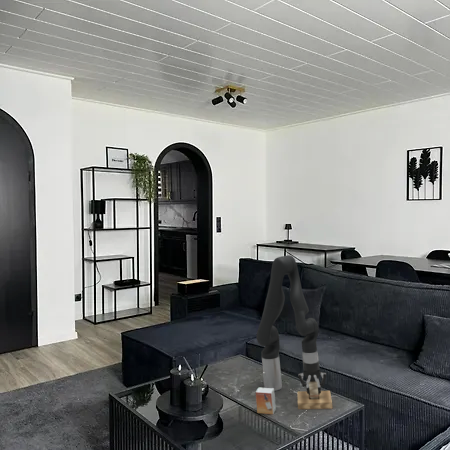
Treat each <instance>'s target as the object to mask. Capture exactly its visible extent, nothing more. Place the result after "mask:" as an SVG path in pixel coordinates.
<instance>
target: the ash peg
mask: <svg viewBox="0 0 450 450" xmlns="http://www.w3.org/2000/svg"><path fill="white" fill-rule="evenodd" d="M309 390H310V398H311V399H318V397H319V395H318V385H317V382H316V381H310V382H309Z"/></svg>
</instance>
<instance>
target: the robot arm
mask: <svg viewBox="0 0 450 450" xmlns="http://www.w3.org/2000/svg"><path fill="white" fill-rule="evenodd" d="M286 275H287V276H288V279H289V284H290V292H289V296H290V297H289V299H290V303H291V306H292V309H293V312H294V320H295V328H296V331H297V332H298V334H299V335H300V336H301V337H303V336H304V338H302V340H301V349H302V365H303V366H302V367H303V371H302V372H301V373H298V379H299V382H300V384H301V386H302V387H305V388H306V391H307V394H309V395H310V390H309V382H310V381H316V382H317V385H318V395H320V393H321V391H322V389H321V388H322V387H324V386H325V383H326V380H327V373H326V372H325V371H324V372H321V369H320V361H319V354H318V347H317V346H318V345H317V341H318V340H317V339H318V334H319V324H318V322H317V321H316V319H315V318H313V317H309V318H306V315H307V314H308V313H309V312H310V310H309V307H308V304H307V301H306V299H305V295H304V293H303V288H302V283H301V279H300V277H301V276H300V274H299V269H298V264H297V261H296V259H295V257H293V255H290V254H288V255H283V256H278V257H276V258H275V259H274V260H273V261H272V265H271V271H270V278H269V279H270V280H269V285H268V290H267V294H266V298H265V303H264V307H263V312H262V314H261V315H262V316H261V319H260V322H259V325H258V329H257V331H256V341H257V343H258V344H259V346H261V347H263V349H262V350H261V353H260V354H261V361H262V362H261V363H262V379H263V388H274V392H277V391H279V390H281V389H282V388H283V382H282V373H281V372H282V371H281V363H280V355H279V353H280V350H281V349H280V347H281V345H280V334H279V331H278V328H277V327H276V326H274V324H275V322H276V320H277V319H278V318H279V316H280V315H281V312H282V311H283V309H284V304H285V299H286V298H285V297H286V296H285V293H284V290H283V282H284V281H283V280H284V277H285V276H286ZM320 376H321V378H322V379H321V382H320V380H319V378H320ZM304 378H305V379H306V382H305V380H304Z"/></svg>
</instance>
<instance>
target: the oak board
mask: <svg viewBox="0 0 450 450" xmlns="http://www.w3.org/2000/svg"><path fill="white" fill-rule="evenodd" d="M331 395H332V394H331V390H321V393H320V395H319V397H318V399H311V398H310V395H309V394H307V390H305V391H297V409H298V410H321V409H322V410H325V409H326V410H328V409H329V410H330V409H331V410H332V409H333V401H332V396H331Z"/></svg>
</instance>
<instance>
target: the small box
mask: <svg viewBox="0 0 450 450" xmlns="http://www.w3.org/2000/svg"><path fill="white" fill-rule="evenodd" d="M275 396H276V395H275V391H274V388H264V387H259V386H258V388H257V389H256V391H255V401H256V402H255V403H256V412H257V414H266V415H274V414H275V411H276V409H277V408H276V407H277V406H276V397H275Z"/></svg>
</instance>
